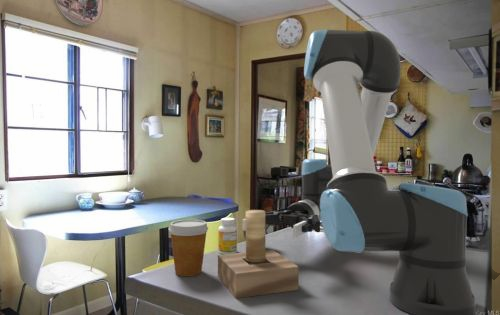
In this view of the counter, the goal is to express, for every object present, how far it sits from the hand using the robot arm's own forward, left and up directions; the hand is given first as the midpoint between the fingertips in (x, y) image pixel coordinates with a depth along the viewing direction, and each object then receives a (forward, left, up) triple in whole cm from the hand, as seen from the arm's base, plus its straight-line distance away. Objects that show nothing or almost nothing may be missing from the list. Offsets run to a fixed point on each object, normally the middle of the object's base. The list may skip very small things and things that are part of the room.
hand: (268, 228), depth 90 cm
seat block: (-4, +4, -11) cm, 13 cm away
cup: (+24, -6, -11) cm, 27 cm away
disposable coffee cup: (+8, +17, -11) cm, 22 cm away
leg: (-4, +4, -11) cm, 13 cm away
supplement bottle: (+22, +3, -11) cm, 25 cm away
